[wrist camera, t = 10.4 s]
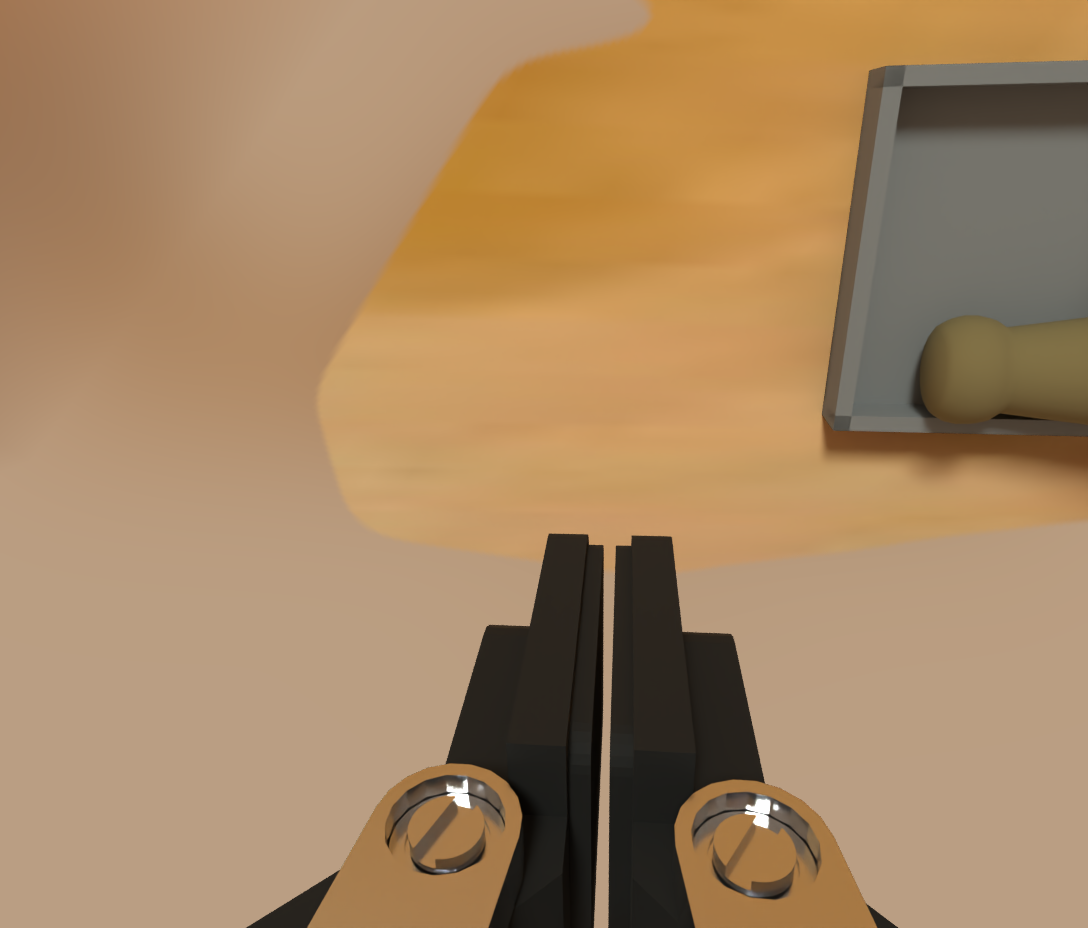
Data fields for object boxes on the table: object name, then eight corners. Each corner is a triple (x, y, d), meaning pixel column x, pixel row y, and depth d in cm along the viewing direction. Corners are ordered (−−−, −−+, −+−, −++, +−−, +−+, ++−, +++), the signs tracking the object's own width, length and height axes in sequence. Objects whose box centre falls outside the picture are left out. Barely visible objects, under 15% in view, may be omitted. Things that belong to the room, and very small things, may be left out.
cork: (1206, 276, 33) (939, 280, 35) (1246, 394, 31) (957, 392, 32) (1128, 352, 39) (901, 352, 40) (1158, 458, 36) (914, 453, 38)
